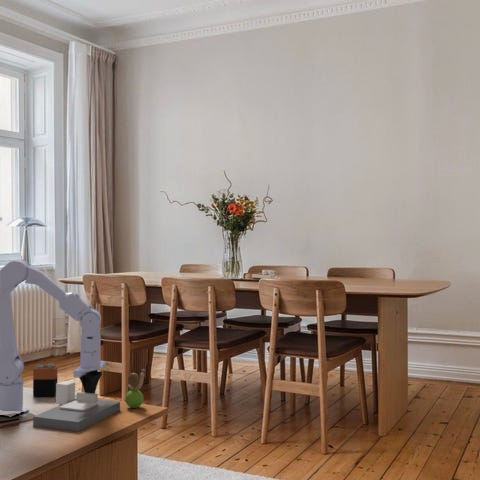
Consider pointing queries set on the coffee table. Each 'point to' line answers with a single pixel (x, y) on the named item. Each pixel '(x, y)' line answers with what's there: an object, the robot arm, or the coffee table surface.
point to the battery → (44, 380)
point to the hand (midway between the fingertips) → (89, 397)
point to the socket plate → (75, 416)
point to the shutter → (82, 402)
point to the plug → (65, 392)
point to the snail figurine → (135, 390)
